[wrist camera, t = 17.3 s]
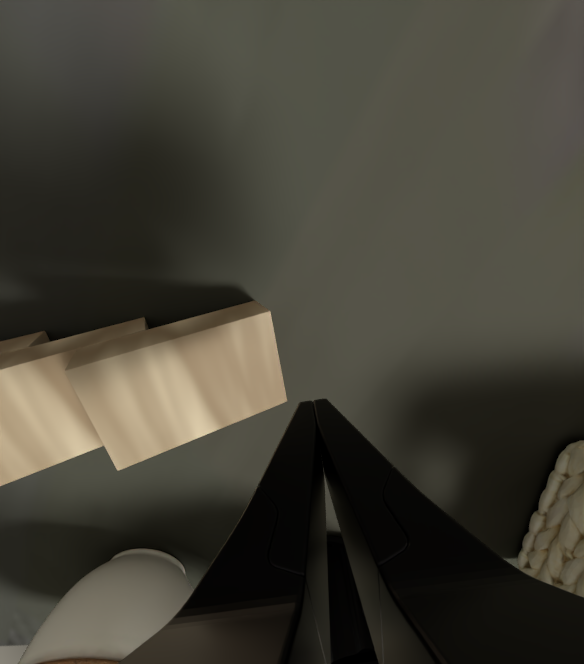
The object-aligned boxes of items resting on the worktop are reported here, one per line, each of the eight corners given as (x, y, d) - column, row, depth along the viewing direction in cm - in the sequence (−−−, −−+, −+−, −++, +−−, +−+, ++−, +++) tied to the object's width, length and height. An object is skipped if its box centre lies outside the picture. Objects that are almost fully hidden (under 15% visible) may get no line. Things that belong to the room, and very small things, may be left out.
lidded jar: (160, 510, 21) (77, 722, 12) (238, 584, 25) (215, 784, 16) (46, 556, 23) (-97, 771, 14) (136, 619, 27) (67, 816, 18)
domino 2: (270, 311, 13) (64, 371, 10) (286, 401, 15) (117, 470, 12) (254, 300, 15) (76, 348, 12) (271, 382, 17) (121, 438, 14)
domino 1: (144, 329, 13) (-93, 395, 11) (178, 416, 15) (-15, 491, 12) (144, 317, 15) (-58, 370, 12) (173, 396, 17) (5, 457, 14)
